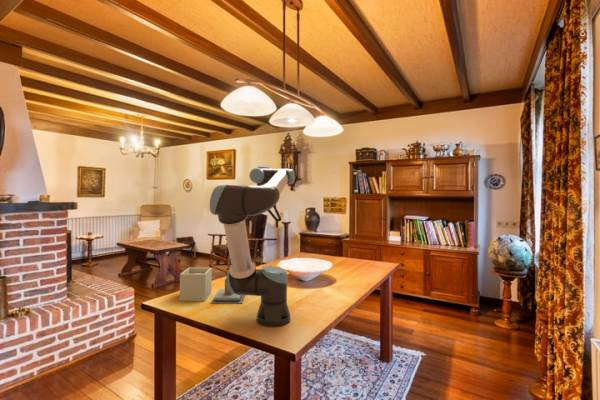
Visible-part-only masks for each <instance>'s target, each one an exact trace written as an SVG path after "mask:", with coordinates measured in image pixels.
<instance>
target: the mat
mask: <svg viewBox="0 0 600 400" xmlns="http://www.w3.org/2000/svg"><path fill="white" fill-rule="evenodd" d="M217 293H218V291H217V292H216V294H217ZM245 297H246V295H241V298H240V300H237V301H218V300H214V297H213V298H212V299H211V301H210V303H209V304H210V305H215V304H216V305H242V304H243V302H244V300H245Z"/></svg>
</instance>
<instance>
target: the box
mask: <svg viewBox="0 0 600 400" xmlns="http://www.w3.org/2000/svg"><path fill="white" fill-rule="evenodd" d="M212 271H213V268H212V267H187V268H186V269H185V270H184V271H181V273H180V274H179V302H206V300H207V299H208V298H210V297H209V296H210V295H211V294H212V283H213V282H212V280H213V277H212V276H213V275H212V274H213V272H212ZM195 273H202V274H195Z"/></svg>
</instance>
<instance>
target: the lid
mask: <svg viewBox="0 0 600 400" xmlns="http://www.w3.org/2000/svg"><path fill="white" fill-rule="evenodd" d="M226 281H227V279H226V278H225V279H224V289H223V288H221V289H219V290H218V291H217V292H218V293H217V292H216V294H215V295H214V296H213V298H214V300H218V301H237V300H240V298H241V295H237V294H232V293H230V292H229V290H228V288H227V285H226Z"/></svg>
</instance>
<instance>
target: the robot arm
mask: <svg viewBox="0 0 600 400" xmlns="http://www.w3.org/2000/svg"><path fill="white" fill-rule="evenodd" d="M295 175H296V174H295V171H294V169H293V168H271V166H269V165H268V166H267V165H259V166H257V167H255V168H252V169H251V170H250V172H249V175H248V176H249V180H250V181H251V182H253V183H254V184H256V185H237V184H236V185H233V184H232V185H231V184H222V185H217V186H215V187H214V188H213V190H212V192H211V195H210V200H209V211H210V213H211V214H212V215H215V216H217V218H218V222H219V223H221V224H223V229H224V233H225V238H226V242H227V244H226V245H227V248H228V252H229V258H230V263H231V266H230V267H229V269H228V271H227V273H226V278H225V279H227V281H226V285H227V288H228V290H229V292H230V293H232V294H237V295H245V296H254V297H255V296H256V297H260V303H259V307H258V310H257V314H256V322H257V323H258V324H259V325H262V326H264V327H269V328H272V327H273V328H274V327H275V328H276V327H281V326H285V325H287V324H288V323H289V322H290V321H291V312H290V309H289V306H288V302H287V301H288V282H289V280H288V272H287V271H286V270H285V269H284V268H282V267H279V266H274V265H265V266H262V267H261V269H258V268H257V269H256V264H255V263H254V262H253V261H252V258H251V257H252V256H251V251H250V250H251V249H250V246H249V245H250V244H249V237H248V233H249V234H252V219H253V217H255V216H257V215H259V216H260V215H261V214H264V213H266V212H268V213H269V215H270V216H271V217H272V219H274V220H275V221H274V233H273V234H274V235H276V234H277V228H279V222H280V221H282V217H281V215H280V212H279V210H278V209H277V203H278V202H279V200H280V197H281V193H282V192H283V190H284V189H285V187H286V186H287V185H293V184H294V183H295ZM271 209H273V210H274V212H275V214H276V215H275V214H274V213H273V212H272V210H271ZM276 216H277V217H276ZM246 222H247V225H246ZM247 227H248V228H249V230H248V231H249V232H248V231H247Z"/></svg>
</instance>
